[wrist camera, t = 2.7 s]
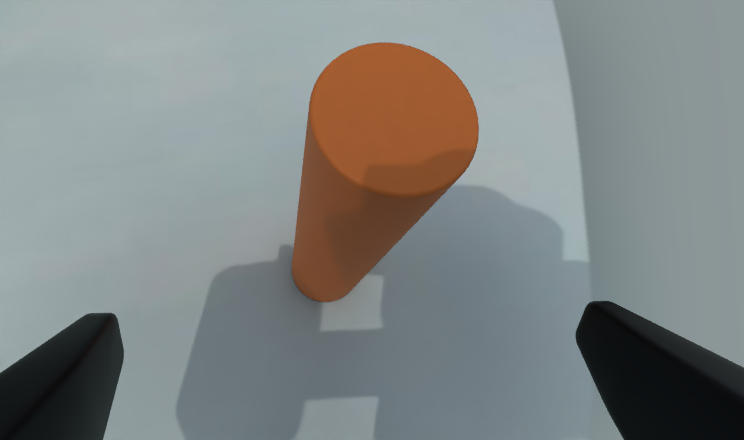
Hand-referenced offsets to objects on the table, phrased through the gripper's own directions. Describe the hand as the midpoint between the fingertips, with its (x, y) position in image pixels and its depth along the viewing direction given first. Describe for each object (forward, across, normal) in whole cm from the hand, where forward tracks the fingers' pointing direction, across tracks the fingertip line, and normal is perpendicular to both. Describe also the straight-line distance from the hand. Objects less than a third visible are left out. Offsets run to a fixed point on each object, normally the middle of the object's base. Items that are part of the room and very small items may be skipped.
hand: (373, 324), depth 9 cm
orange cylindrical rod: (+9, 0, +5) cm, 10 cm away
